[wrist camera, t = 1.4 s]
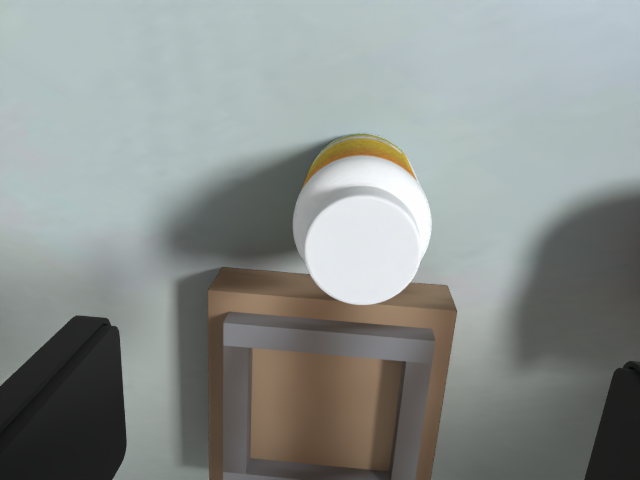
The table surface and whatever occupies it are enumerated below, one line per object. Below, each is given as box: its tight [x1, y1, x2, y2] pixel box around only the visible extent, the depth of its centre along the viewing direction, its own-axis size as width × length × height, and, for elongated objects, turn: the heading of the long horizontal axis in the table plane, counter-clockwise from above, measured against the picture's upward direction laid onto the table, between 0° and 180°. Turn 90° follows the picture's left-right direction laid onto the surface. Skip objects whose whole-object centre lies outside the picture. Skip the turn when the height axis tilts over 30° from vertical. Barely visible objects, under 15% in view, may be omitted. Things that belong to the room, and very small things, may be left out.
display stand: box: [208, 267, 457, 480], centre depth 29 cm, size 12×12×4 cm
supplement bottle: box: [293, 133, 432, 305], centre depth 23 cm, size 5×5×10 cm
